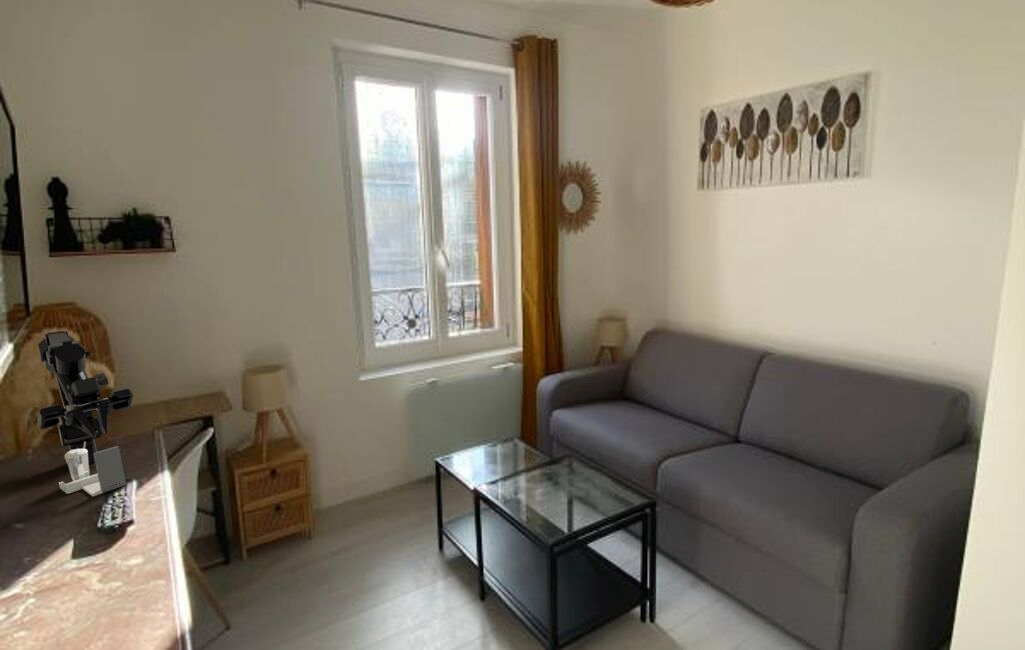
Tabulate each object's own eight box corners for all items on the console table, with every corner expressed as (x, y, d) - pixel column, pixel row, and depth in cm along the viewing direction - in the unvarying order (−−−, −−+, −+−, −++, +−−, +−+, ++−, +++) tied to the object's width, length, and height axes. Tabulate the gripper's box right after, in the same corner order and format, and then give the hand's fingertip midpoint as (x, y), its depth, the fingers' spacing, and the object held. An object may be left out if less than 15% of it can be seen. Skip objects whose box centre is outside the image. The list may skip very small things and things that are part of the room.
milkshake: (100, 478, 142) (93, 441, 140) (82, 487, 137) (75, 450, 135) (84, 478, 143) (77, 441, 141) (66, 487, 137) (58, 450, 136)
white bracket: (59, 488, 137) (51, 450, 135) (107, 472, 145) (99, 436, 143) (77, 501, 129) (68, 461, 127) (126, 484, 137) (118, 446, 135)
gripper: (30, 375, 127) (54, 429, 123) (123, 357, 142) (148, 405, 137) (28, 402, 133) (51, 455, 129) (117, 382, 148) (141, 429, 143)
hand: (100, 434), depth 134 cm, fingers closed
